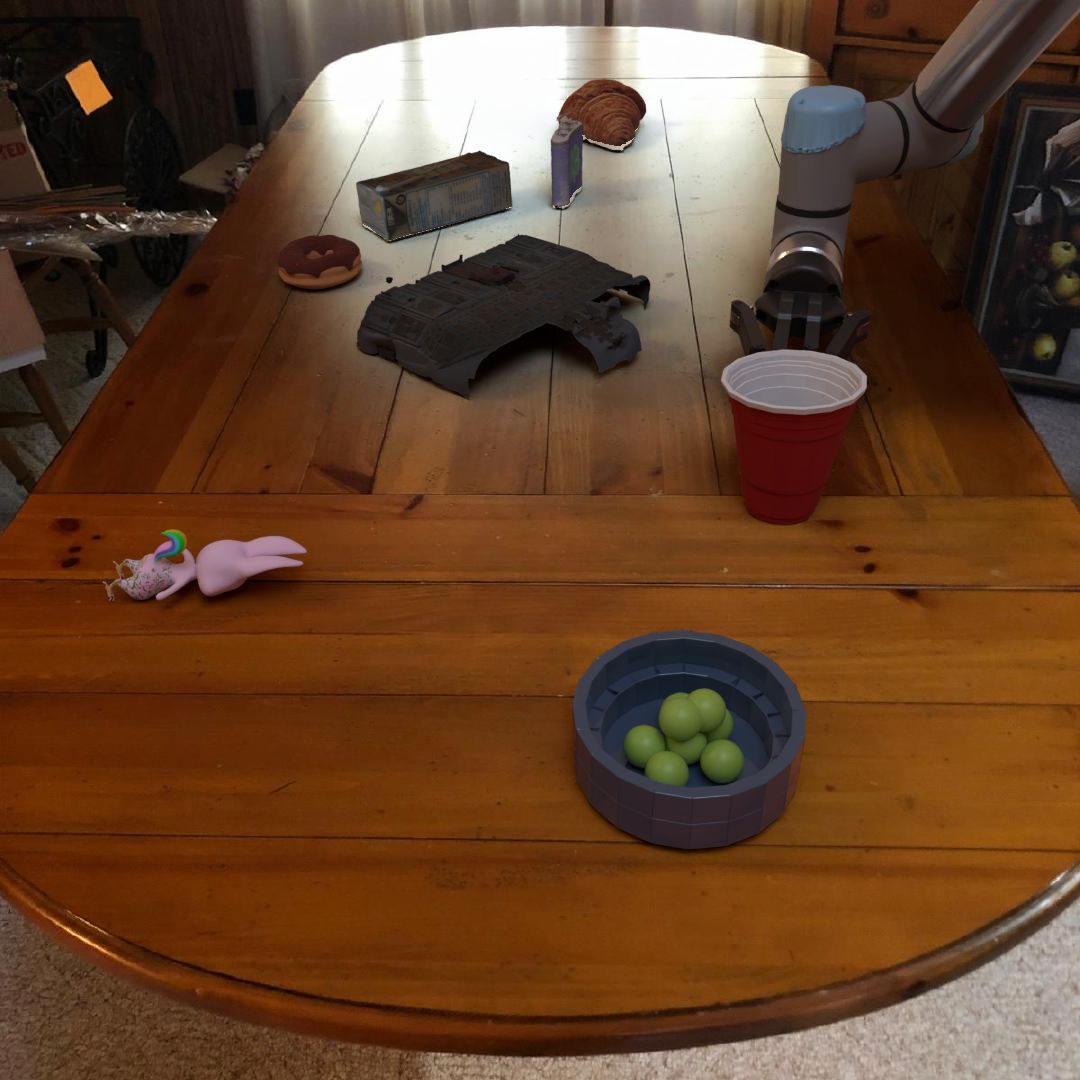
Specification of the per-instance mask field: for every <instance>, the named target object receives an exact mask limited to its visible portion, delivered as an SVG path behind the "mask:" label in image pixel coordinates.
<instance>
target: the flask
mask: <svg viewBox="0 0 1080 1080" xmlns="http://www.w3.org/2000/svg"><path fill="white" fill-rule="evenodd" d="M560 117H562V115H560V116H558V115H557V116H556V119H555V120H556V122H558V119H559V118H560ZM570 120H572V118H570V119H568V118H567V116H563V117H562V118H561V119H560V122H561V123H560V125H559V124H558V127H557V129H556V130H555V131H554V133H552V136H551V138H550V171H551V172H550V174H551V175H550V176H551V185H550V186H551V201H550V202H551V206H552V205H554V206H555V207H556V206H558V207H561V206H565V205H568V204H569V203H570V198H571V197H572V195H573V193H574V192H575V191H576V190H577V189H579V188H580V187H581V186H582V187H583V157H584V156H583V150H584V149H583V147H584V146H583V143H584V141H583V136H582V135H583V124H582V123H581V122H579V121H570ZM558 207H557V208H558Z"/></svg>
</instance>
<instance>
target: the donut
mask: <svg viewBox="0 0 1080 1080" xmlns="http://www.w3.org/2000/svg"><path fill="white" fill-rule="evenodd" d="M277 266H278V267H279V268H278V275H279V277H280V278H281V279H282V281H283V282H285V283H286V284H288V285H290V286H293V287H296V288H299V289H306V290H323V289H328V288H332V287H335V286H338V285H342V284H344V283H347V282H349V281H351V280H352V279H353V278H354V277H356V276H357V275H358V274H359V272H360V271H361V269H362V266H363V262H362V254H361V249H360V246H358V245H357V244H356V242H354V241H352V240H351V239H347V238H345V237H339V236H337V235H335V234H323V235H315V234H314V235H307V236H303V237H300V238H297V239H293V240H291V241H289V242H288V243H287V244H286V245H285V246H284V247H283V249H281V250H280V252H279V254H278V257H277Z"/></svg>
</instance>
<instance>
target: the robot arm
mask: <svg viewBox="0 0 1080 1080" xmlns="http://www.w3.org/2000/svg"><path fill="white" fill-rule="evenodd" d="M1079 14H1080V0H978V1H977V2H976V3H975V4H974V6H973V7H972V8H971V10H970V11H969V12H968V14H967V15H966V16H965V17H964V19H963V20H962V21H961V22H960V24H959V25H957V27H956V28H955V30H954V31H953V32H952V33H951V35H950V36H949V37H948V39H946V41H945V42H944V43H943V44H942V46H941V47H940V48H939V50H938V51H937V52H936V53H935V54H934V56H933V57H932V58H931V59H930V61H929V62H928V63H927V64H926V66H925V67H924V68H923V69H922V71H921V72H920V73H919V74H918V75H917V77H916V78H915V79H913V81H912V82H911V83H910V84H909V86H908V87H907V88H906V89H905V91H904V92H903V93H902V94H900V95H898V96H895V97H890V98H886V99H880V100H875V101H870V102H866V98H865V96H864V94H863V93H862V92H861V91H859V90H857V89H854V88H852V87H847V86H843V85H842V86H841V85H831V84H830V85H812V86H806V87H804V88H801V89H799V90H797V91H795V92H794V93H793V94H792V95H791V96H790V98H789V100H788V102H787V107H786V112H785V116H784V121H783V128H782V132H781V137H780V141H781V150H780V163H779V175H778V193H777V194H776V201H775V208H774V216H773V225H772V235H771V236H772V237H771V241H770V244H771V245H770V252H769V257H768V261H767V266H766V271H765V275H764V276H765V278H764V282H763V287H762V293H761V295H760V296H759V297H757V298H756V299H755V301H754V304H747V303H746V302H745V301H743V300H740V299H735V300H732V301H731V303H730V314H729V315H730V317H729V326H728V327H729V328H730V329H731V330H732V331H733V332H734V333H736V335H738V337H739V338H738V339H739V341H740V344H741V347H742V351H743V354H744V357H745V356H748V355H752V354H755V353H758V352H767V351H776V350H789V349H788V348H789V341H790V338H799V339H800V338H801V339H803V346H802V347H803V348H802V350H804V351H814V352H819V348H820V345H819V344H820V338H822V337H823V336H825V335H827V334H829V333H831V332H833V331H835V330H837V331H836V333H835V334H834V335H833V338H832V339H831V341H830V342H829V344H828V346H827V347H826V349H825V350H824V354H829V355H833V356H837V357H839V358H842V359H844V360H846V361H848V358H849V357H850V355H851V353H852V351H853V350H854V348H855V347H856V345H858V344H859V343H861V342H863V341H865V340H867V338H868V334H869V329H870V322H871V316H872V312H871V311H870V310H868V309H860V310H857V311H856V312H854V313H853V312H851V311H849V312H848V307H847V305H846V304H845V302H843V284H844V261H845V260H844V258H845V252H846V251H845V250H846V242H847V234H848V229H849V222H850V221H849V220H850V214H851V209H852V203H853V198H854V192H855V187H856V185H857V184H862V183H867V182H871V181H875V180H880V179H885V178H889V177H893V176H899V175H904V174H908V173H914V172H918V171H922V170H933V169H940V168H942V167H945V166H947V165H948V164H950V163H953V162H958V161H960V160H963V159H964V158H966V157H968V156H969V155H970V154H971V153H972V152H974V150H975V149H976V148H977V146H978V144H979V142H980V141H979V140H980V136H981V134H982V133H983V131H984V125H985V117H984V115H985V114H986V113H987V112H988V111H989V110H990V108H991V107H993V105H994V104H995V103H997V101H998V100H1000V98H1001V97H1002V96H1003V95H1004V94H1005V93H1006V92H1007V91H1008V90H1009V88H1010V87H1011V86H1013V84H1014V83H1015V82H1016V81H1017V80H1018V79H1019V78H1020V77H1021V76H1022V75H1023V74H1024V72H1025V71H1026V70H1028V69H1029V68H1030V66H1031V65H1032V64H1033V63H1034V62H1035V61H1036V60H1037V59H1038V57H1040V55H1041V54H1042V53H1043V52H1045V50H1046V49H1047V48H1048V47H1049V46H1050V45H1051V44H1052V43H1053V42H1054V41H1055V39H1056V38H1057V37H1059V35H1060V34H1062V32H1063V31H1064V30H1065V29H1067V27H1068V26H1069V24H1071V22H1072V21H1074V19H1075V18H1076V17H1078V15H1079ZM759 323H760V324H761V325H763V326H764V327H765V328H766V329H768V330H769V331H770V332H772V334H774V338H773V343H772V344H773V345H772V349H768V348H766V347H767V345H766V341H765V338H764V336H763V333H762V331H761V330H762V329H761V327H760V324H759Z"/></svg>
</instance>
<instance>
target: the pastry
mask: <svg viewBox="0 0 1080 1080" xmlns="http://www.w3.org/2000/svg"><path fill="white" fill-rule="evenodd" d="M646 114H647V104H646V101H645V100H644V98H643V97H642V95H641V94H640V93H639V92H638V90H636V89H635V88H634V87H632V86H630V85H626V84H624V83H623V82H621V81H619V80H616V79H608V78H602V79H591V80H588V81H587V82H585V83H583V84H582V86H580V87H579V88H578V89H576V90H574V92H573V93H571V94H570V95H569V96H568V97H566V99H565V100H564V102H563V104H562V106H561V108H560V110H559V112H558V115H557V117H558V116H560V115H562V117H563V116H567V118H568V119H570V118H572V120H570V121H579V122H581V123H582V124H583V135H585V137H586V138H587V139H591V140H593V141H597V142H602V143H604V144H609V145H614V146H621V145H622V144H626V142H628V141H630V140H632V139H633V138H634V137H635V138H636V132H635V130H636V129H637V128H638V129H639V127H640V125H641V121H642V120H643V119H644V117H645V115H646ZM562 117H560V118H559V119H558V121H557V122H558V126H559V125H560V123H561V122H560V119H561V118H562ZM635 138H634V139H635Z"/></svg>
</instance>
